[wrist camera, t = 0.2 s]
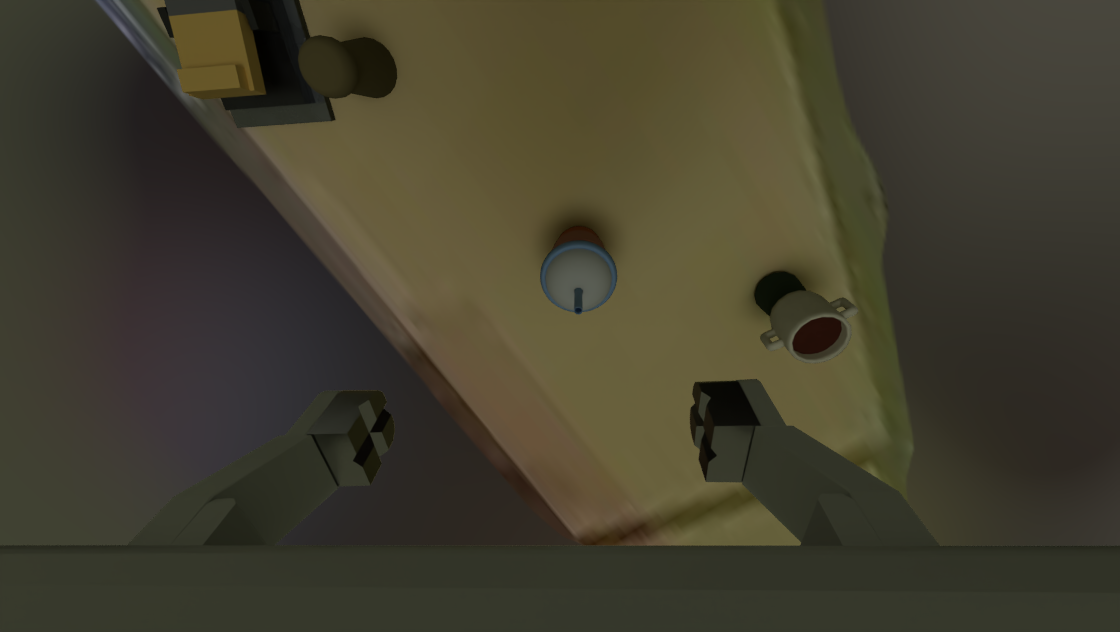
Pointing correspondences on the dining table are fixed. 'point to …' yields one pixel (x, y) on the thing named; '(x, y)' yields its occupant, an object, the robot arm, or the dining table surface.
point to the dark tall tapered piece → (347, 67)
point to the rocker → (215, 49)
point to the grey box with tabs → (275, 68)
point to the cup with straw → (578, 271)
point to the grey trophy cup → (803, 319)
